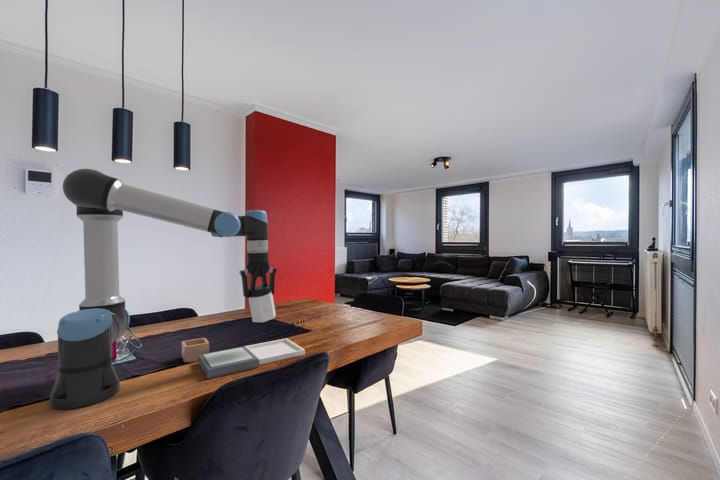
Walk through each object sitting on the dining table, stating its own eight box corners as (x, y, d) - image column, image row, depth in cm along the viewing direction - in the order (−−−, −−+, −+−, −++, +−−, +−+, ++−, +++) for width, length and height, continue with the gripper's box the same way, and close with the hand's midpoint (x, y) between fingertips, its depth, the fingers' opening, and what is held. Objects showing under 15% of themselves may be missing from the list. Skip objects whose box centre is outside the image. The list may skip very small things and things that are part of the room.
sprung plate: (211, 369, 105) (211, 366, 105) (203, 357, 116) (203, 354, 116) (253, 360, 113) (253, 357, 113) (241, 350, 124) (241, 347, 124)
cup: (184, 364, 116) (184, 347, 116) (181, 357, 123) (181, 341, 122) (209, 359, 121) (209, 343, 121) (205, 353, 127) (205, 337, 127)
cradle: (207, 379, 104) (207, 369, 104) (198, 363, 117) (198, 355, 117) (258, 367, 113) (258, 358, 113) (244, 354, 126) (244, 346, 126)
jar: (256, 324, 117) (250, 291, 116) (249, 320, 124) (243, 289, 123) (280, 316, 123) (274, 285, 121) (271, 312, 129) (266, 283, 128)
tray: (259, 364, 115) (259, 359, 115) (244, 350, 130) (244, 346, 130) (305, 354, 126) (305, 349, 126) (286, 342, 140) (286, 338, 140)
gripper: (237, 253, 115) (239, 320, 115) (282, 251, 124) (284, 313, 124) (232, 252, 121) (234, 316, 121) (275, 250, 130) (277, 309, 130)
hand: (259, 314), depth 123 cm, fingers closed on jar, 3 cm apart
